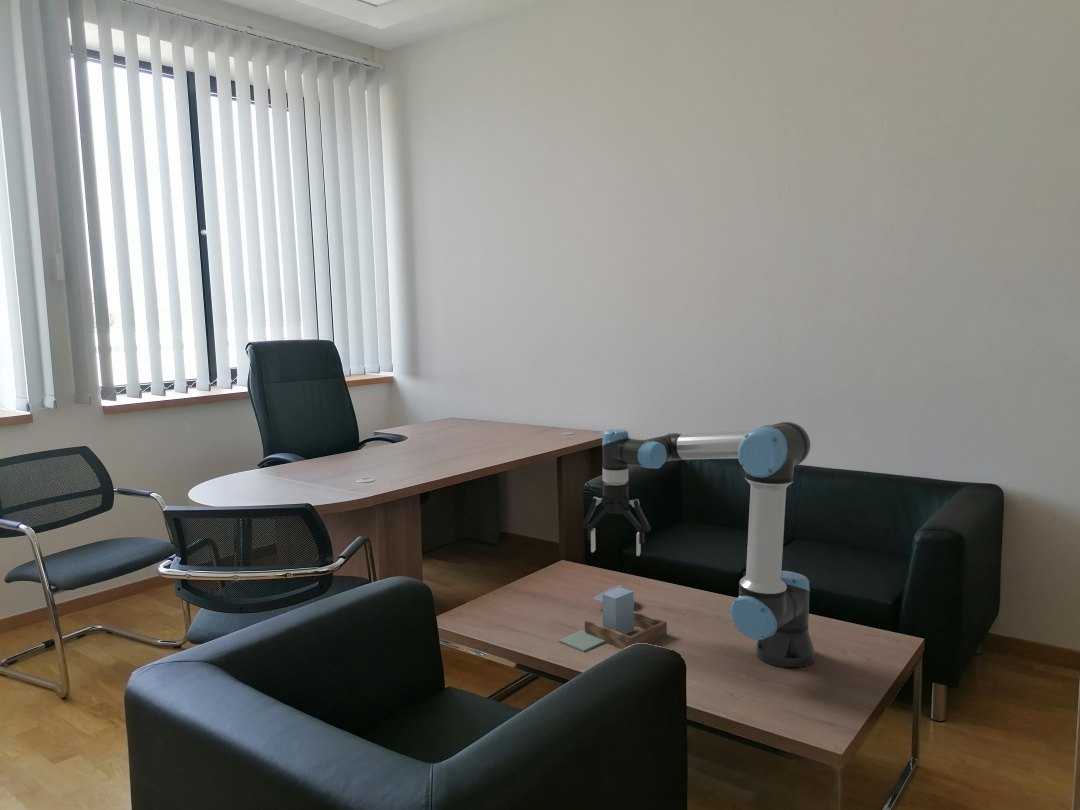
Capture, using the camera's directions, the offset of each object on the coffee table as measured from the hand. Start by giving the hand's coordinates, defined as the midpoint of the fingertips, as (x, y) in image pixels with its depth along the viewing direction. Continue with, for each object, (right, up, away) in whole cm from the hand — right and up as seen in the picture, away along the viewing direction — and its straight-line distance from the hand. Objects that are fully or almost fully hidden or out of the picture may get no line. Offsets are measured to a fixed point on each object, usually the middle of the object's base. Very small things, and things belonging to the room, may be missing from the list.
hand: (615, 552), depth 234 cm
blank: (+1, -23, -2) cm, 23 cm away
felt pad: (-10, -24, -8) cm, 27 cm away
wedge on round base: (+2, -21, +19) cm, 28 cm away
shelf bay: (+2, -23, -3) cm, 23 cm away
